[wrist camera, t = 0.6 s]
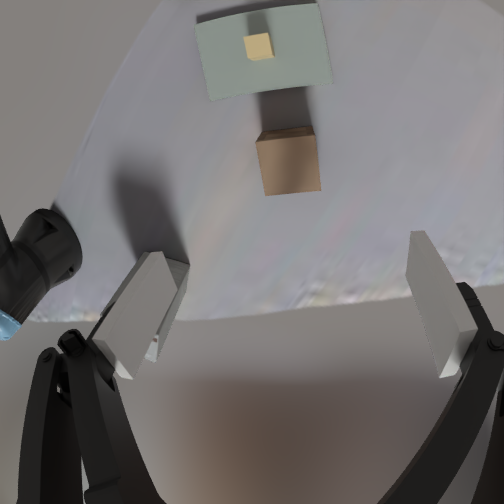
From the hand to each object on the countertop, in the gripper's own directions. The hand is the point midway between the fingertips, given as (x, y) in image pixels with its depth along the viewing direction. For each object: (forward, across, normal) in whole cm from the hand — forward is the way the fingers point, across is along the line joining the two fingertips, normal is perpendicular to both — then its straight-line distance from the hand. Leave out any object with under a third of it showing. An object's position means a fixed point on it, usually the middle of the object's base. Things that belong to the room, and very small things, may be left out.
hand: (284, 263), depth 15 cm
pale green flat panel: (+23, -2, +13) cm, 27 cm away
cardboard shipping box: (+23, 0, 0) cm, 23 cm away
